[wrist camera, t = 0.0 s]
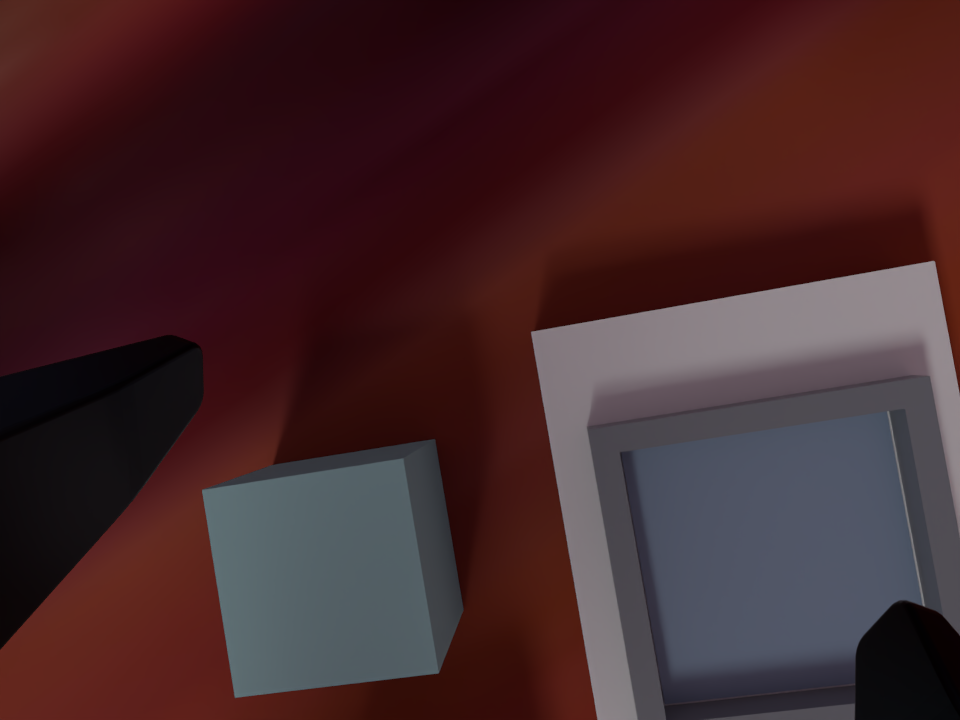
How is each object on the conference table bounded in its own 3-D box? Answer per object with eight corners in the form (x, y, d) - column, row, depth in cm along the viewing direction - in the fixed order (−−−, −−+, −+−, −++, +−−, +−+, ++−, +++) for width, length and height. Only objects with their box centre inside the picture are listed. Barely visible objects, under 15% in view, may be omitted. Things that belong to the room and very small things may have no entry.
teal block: (463, 608, 24) (438, 673, 19) (300, 629, 24) (235, 697, 19) (435, 438, 24) (403, 458, 19) (274, 464, 25) (202, 490, 20)
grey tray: (1016, 891, 21) (1089, 977, 18) (634, 920, 23) (645, 1004, 20) (900, 270, 22) (954, 255, 19) (533, 334, 23) (529, 330, 20)
